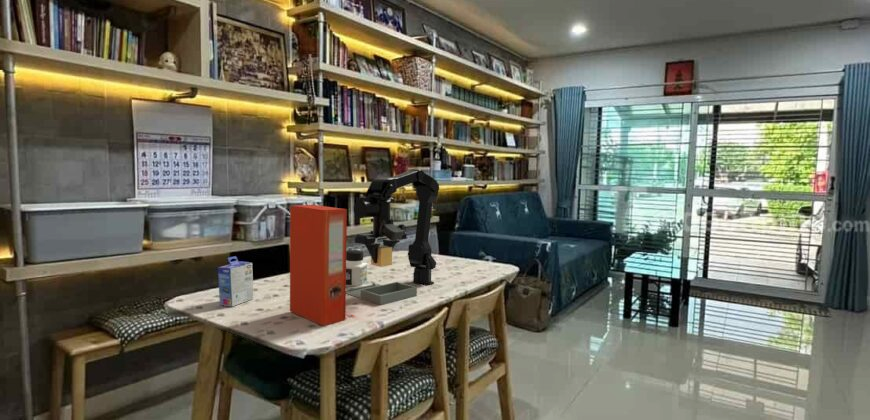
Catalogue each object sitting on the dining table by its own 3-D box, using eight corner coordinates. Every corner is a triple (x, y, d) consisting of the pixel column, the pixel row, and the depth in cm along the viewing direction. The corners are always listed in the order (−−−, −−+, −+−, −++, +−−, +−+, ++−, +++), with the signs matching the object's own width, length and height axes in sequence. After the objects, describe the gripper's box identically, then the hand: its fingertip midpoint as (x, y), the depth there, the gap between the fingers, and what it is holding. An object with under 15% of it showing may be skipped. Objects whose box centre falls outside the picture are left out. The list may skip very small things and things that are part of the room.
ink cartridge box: (240, 297, 155) (240, 253, 153) (254, 299, 153) (253, 255, 151) (217, 305, 145) (216, 259, 144) (232, 307, 143) (231, 260, 142)
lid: (377, 285, 173) (377, 281, 173) (395, 291, 166) (395, 286, 166) (341, 293, 161) (341, 288, 161) (359, 299, 154) (359, 294, 154)
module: (382, 262, 162) (382, 244, 161) (392, 264, 158) (392, 246, 158) (370, 264, 158) (371, 245, 157) (380, 266, 155) (381, 247, 154)
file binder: (313, 306, 146) (313, 204, 143) (346, 319, 134) (346, 208, 131) (289, 311, 140) (289, 205, 137) (322, 326, 128) (322, 210, 126)
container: (360, 287, 170) (360, 252, 168) (340, 286, 171) (340, 251, 170) (367, 282, 177) (367, 248, 176) (348, 281, 179) (348, 247, 177)
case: (395, 291, 166) (395, 281, 166) (416, 297, 159) (416, 287, 158) (359, 299, 154) (359, 289, 154) (380, 306, 147) (380, 296, 147)
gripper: (376, 220, 144) (376, 270, 146) (418, 216, 158) (417, 261, 160) (353, 217, 152) (353, 264, 153) (395, 213, 166) (395, 256, 167)
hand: (381, 261), depth 158 cm, fingers closed on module, 5 cm apart
